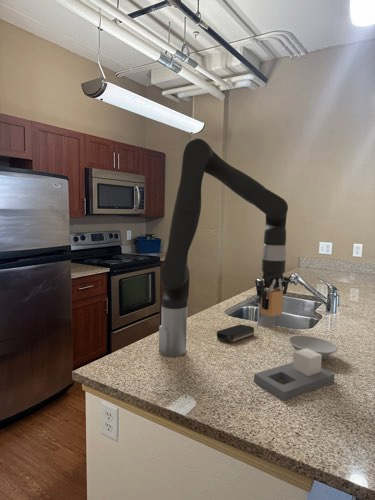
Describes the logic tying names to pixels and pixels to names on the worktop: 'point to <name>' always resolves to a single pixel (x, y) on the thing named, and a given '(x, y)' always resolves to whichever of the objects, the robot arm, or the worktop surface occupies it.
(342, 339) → the worktop surface
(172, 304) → the robot arm
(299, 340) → the dish
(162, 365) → the worktop surface
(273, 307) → the plug
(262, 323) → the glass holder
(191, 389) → the worktop surface
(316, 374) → the square-hole base plate
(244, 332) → the black sponge
